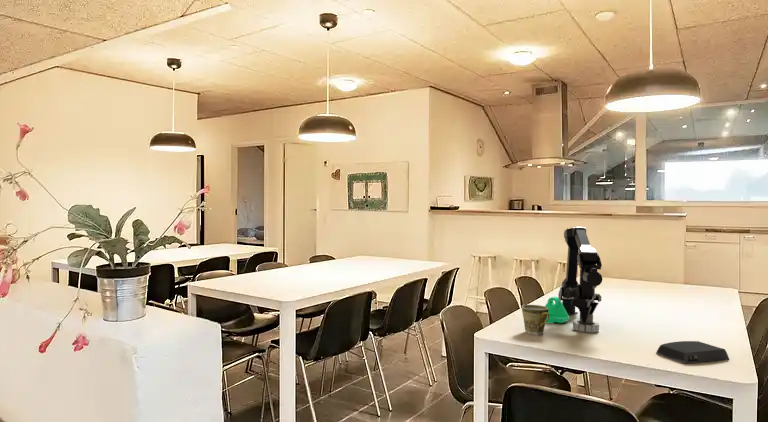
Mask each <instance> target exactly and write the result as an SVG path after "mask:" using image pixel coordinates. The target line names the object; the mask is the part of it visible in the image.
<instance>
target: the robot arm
mask: <svg viewBox="0 0 768 422" xmlns="http://www.w3.org/2000/svg"><path fill="white" fill-rule="evenodd" d="M563 238H564V242H565V243H566V245H567V247H568V248H567V259H566V271H565V272H566V273H565V278H564V279H563V281H562V282H561V286H560V287H559V291H558V296H557V297H558V298H559V299H560V300H561V302H562V304H563V306H564V308H565V310H566V312H567V313H568V315H569V316H575V315H578V314H579V316H580V315H581V319H582V322H584V323H585V322H586V320H587V317H588V315H589V314H593V315H594V313H595V310H596V309H597V308H598V306H599V304H600V302H602V295H601V294H600V293H595V291H596V288H597V287H598V286H600V285H601V284H602V282H603V276H602V274H601V273H600V272H598V270H602V265H603V264H602V260H601V257H600V255H599V253H598V251H597V250H596V248H594V247H592V246H591V243H590V240H589V238H588V234H587V228H586V227H585V226H573V227H567V228H566V229H565V230H564V232H563ZM578 268H579V283H578V280H577V279H578V278H577V277H578ZM596 301H597V302H596ZM576 308H577V309H578V311H579V313H578V311H576Z"/></svg>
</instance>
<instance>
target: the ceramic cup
mask: <svg viewBox="0 0 768 422" xmlns="http://www.w3.org/2000/svg"><path fill="white" fill-rule="evenodd" d="M548 310H549V308H548V307H545V305H539V304H523V305H521V312H522V318H523V323H524V330H525V333H526V334H529V335H531V336H534V335H535V336H541V335H542V336H543V334H544V331H545V327H546V326H545V325H546V323H547V322H546V321H548V320H549V318H550V316H549V313H548ZM547 315H548V319H547V320H546V318H547Z"/></svg>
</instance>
